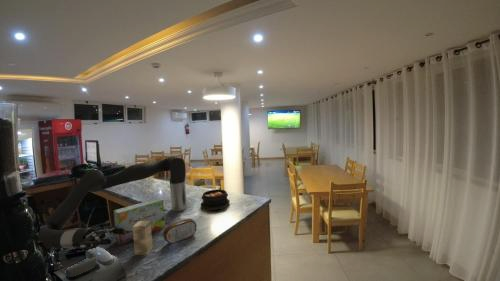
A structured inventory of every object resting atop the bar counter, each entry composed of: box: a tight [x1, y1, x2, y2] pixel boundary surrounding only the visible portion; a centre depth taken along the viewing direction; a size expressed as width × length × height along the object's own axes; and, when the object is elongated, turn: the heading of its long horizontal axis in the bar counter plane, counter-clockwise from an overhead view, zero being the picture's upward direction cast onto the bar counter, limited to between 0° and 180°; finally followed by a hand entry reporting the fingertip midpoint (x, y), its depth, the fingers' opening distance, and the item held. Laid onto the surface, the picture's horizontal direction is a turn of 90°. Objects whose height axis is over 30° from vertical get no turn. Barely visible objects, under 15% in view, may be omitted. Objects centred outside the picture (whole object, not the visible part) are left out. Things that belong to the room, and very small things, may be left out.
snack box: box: [113, 197, 166, 246], centre depth 105 cm, size 21×6×15 cm, turn 138°
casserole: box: [200, 189, 230, 211], centre depth 140 cm, size 25×19×8 cm
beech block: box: [133, 221, 153, 256], centre depth 90 cm, size 5×5×12 cm
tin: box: [162, 218, 198, 244], centre depth 99 cm, size 15×3×8 cm, turn 130°
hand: (117, 235), depth 90 cm, fingers open, 8 cm apart
